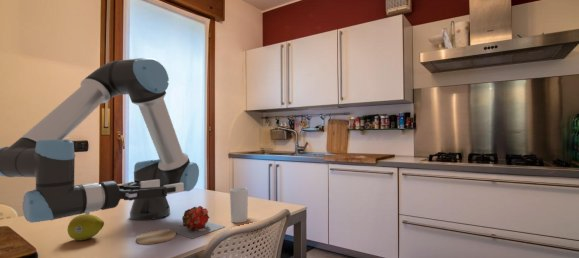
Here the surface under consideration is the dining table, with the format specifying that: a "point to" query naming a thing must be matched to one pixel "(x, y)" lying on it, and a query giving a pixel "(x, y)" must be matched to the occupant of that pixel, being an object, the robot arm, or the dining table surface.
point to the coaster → (155, 236)
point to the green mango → (84, 227)
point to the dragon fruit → (195, 218)
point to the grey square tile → (197, 230)
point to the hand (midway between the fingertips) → (170, 185)
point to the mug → (239, 204)
